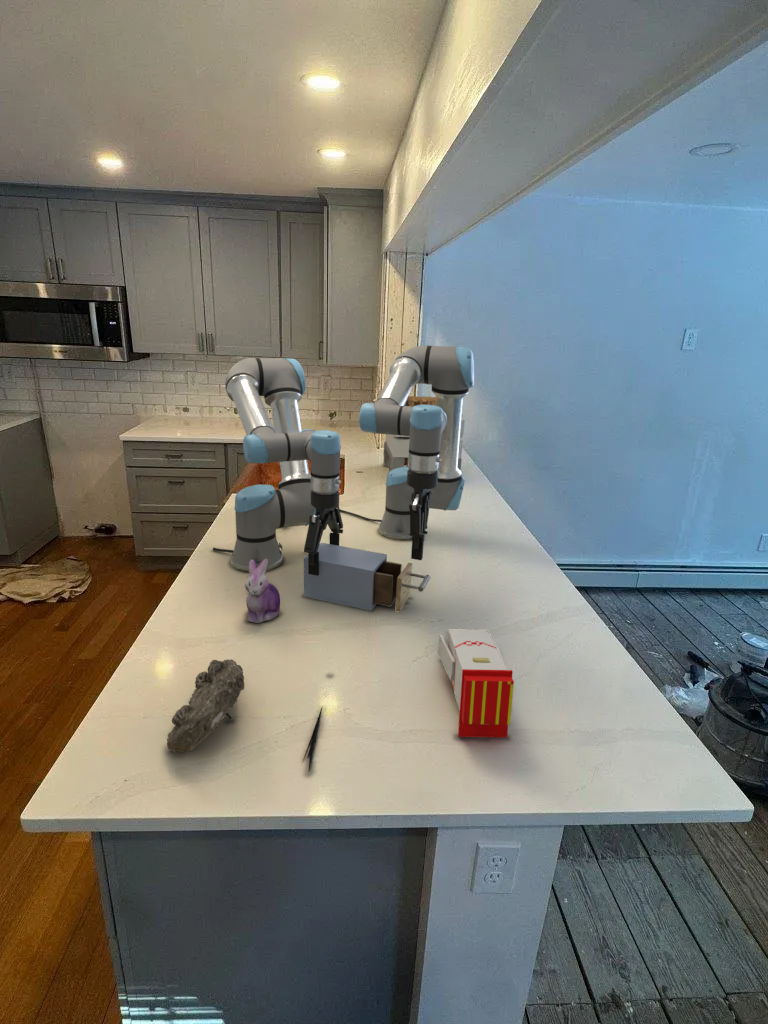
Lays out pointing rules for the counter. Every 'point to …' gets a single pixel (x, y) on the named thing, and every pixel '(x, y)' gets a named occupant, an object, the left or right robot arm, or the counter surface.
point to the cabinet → (343, 576)
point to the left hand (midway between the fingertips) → (324, 564)
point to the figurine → (261, 594)
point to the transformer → (399, 445)
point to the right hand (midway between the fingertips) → (416, 558)
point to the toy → (478, 682)
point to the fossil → (206, 705)
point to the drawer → (395, 584)
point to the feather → (313, 740)
